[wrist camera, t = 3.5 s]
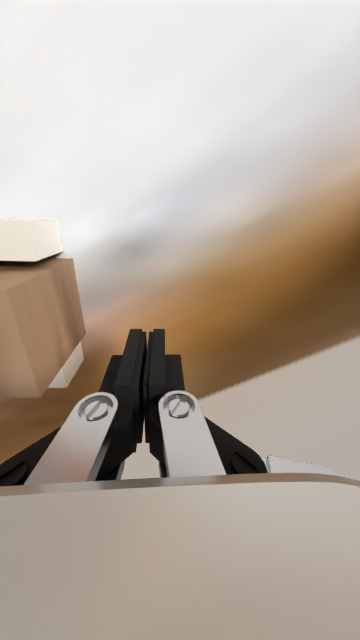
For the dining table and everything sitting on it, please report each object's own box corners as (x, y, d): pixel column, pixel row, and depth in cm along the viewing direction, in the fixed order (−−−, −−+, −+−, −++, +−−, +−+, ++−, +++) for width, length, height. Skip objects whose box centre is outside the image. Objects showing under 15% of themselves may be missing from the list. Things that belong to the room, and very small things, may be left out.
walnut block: (72, 258, 15) (5, 290, 9) (85, 333, 18) (40, 397, 12) (-32, 255, 15) (-177, 286, 9) (-3, 332, 18) (-99, 398, 11)
